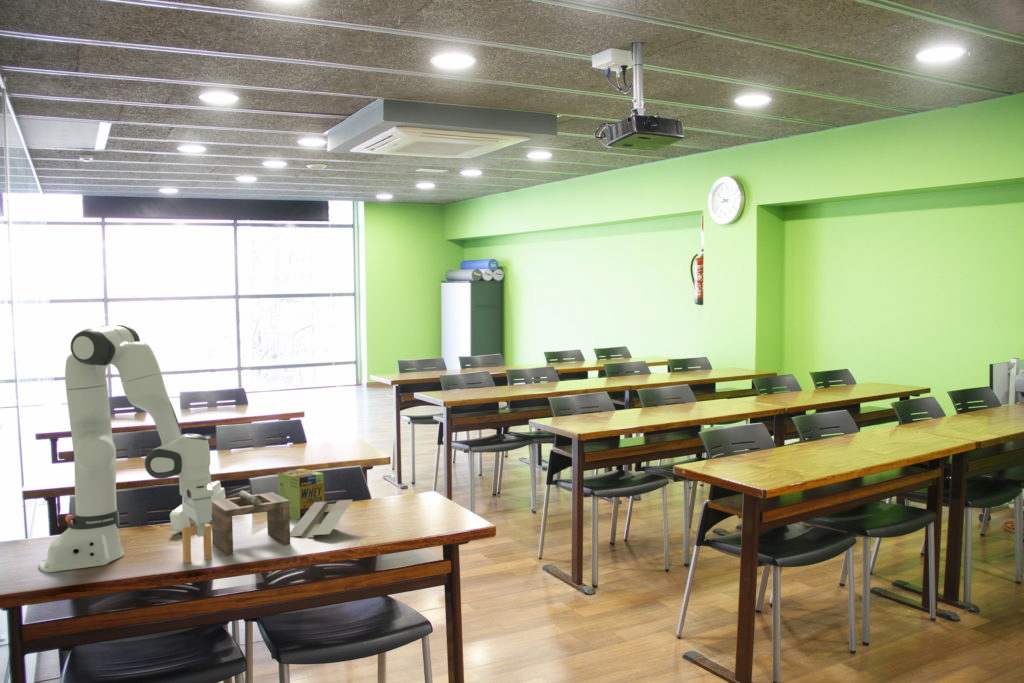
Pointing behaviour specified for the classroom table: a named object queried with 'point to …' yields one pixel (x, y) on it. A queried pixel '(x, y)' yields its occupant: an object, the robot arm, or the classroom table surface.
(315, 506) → the slanted grey stand
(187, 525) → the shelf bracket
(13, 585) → the classroom table surface
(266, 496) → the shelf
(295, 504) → the protein box
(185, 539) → the orange u-frame
